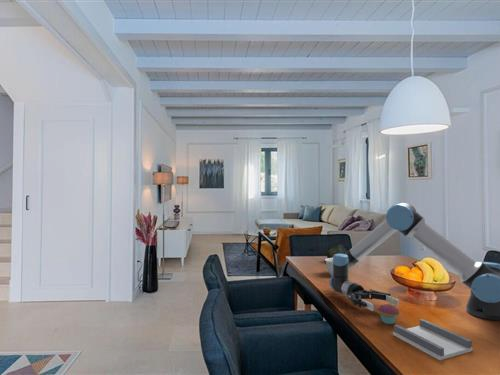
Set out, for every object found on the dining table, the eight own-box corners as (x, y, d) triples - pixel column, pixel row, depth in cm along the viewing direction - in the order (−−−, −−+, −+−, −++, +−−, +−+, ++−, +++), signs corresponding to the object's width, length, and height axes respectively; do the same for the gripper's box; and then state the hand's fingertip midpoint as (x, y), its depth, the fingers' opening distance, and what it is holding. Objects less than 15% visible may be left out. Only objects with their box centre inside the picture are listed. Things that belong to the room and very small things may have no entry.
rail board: (393, 334, 127) (392, 325, 127) (423, 327, 133) (423, 318, 133) (439, 360, 108) (439, 349, 108) (472, 350, 114) (472, 340, 114)
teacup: (341, 271, 219) (341, 256, 219) (346, 278, 204) (345, 262, 204) (323, 271, 220) (323, 256, 220) (326, 277, 205) (326, 261, 205)
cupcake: (393, 317, 143) (393, 290, 143) (403, 325, 135) (402, 296, 135) (374, 318, 143) (373, 290, 143) (382, 326, 135) (382, 297, 134)
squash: (321, 254, 248) (329, 241, 239) (336, 253, 254) (345, 240, 245) (329, 270, 238) (339, 257, 229) (345, 268, 245) (355, 256, 236)
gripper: (373, 294, 164) (408, 309, 144) (331, 301, 155) (362, 318, 135) (373, 279, 164) (407, 292, 144) (331, 286, 155) (362, 300, 135)
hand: (385, 305), depth 139 cm, fingers open, 13 cm apart
